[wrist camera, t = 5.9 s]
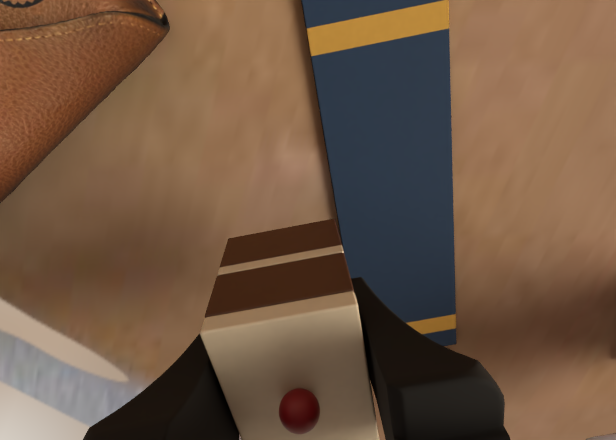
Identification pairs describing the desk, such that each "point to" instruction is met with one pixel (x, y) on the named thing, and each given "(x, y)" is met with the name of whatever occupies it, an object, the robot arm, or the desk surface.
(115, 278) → the desk surface
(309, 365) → the cake slice
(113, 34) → the sunglasses case
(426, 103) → the cloth
